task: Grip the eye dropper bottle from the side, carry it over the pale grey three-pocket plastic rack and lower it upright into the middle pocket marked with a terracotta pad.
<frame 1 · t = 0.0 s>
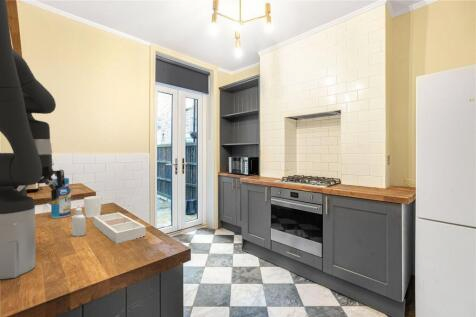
hand: (39, 200, 76), 17 cm above the counter, tool pointing down, fingers open, 8 cm apart
white cup: (93, 216, 120), on the counter
rack: (117, 230, 98), on the counter
beverage bottle: (61, 216, 119), on the counter
eye dropper bottle: (78, 235, 92), on the counter
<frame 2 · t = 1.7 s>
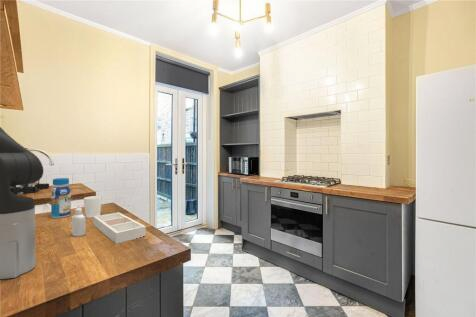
hand: (42, 187, 88), 20 cm above the counter, tool horizontal, fingers open, 8 cm apart
nothing on the counter moved.
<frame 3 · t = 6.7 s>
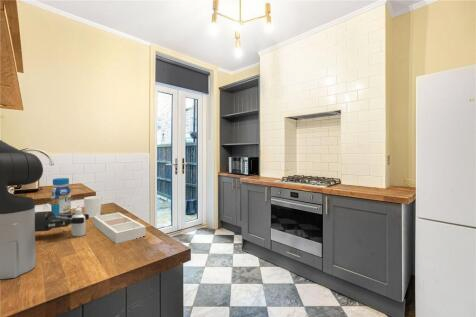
hand: (86, 218, 93), 7 cm above the counter, tool horizontal, fingers closed on eye dropper bottle, 4 cm apart
eye dropper bottle: (78, 235, 92), on the counter, touching gripper
everything else where it was.
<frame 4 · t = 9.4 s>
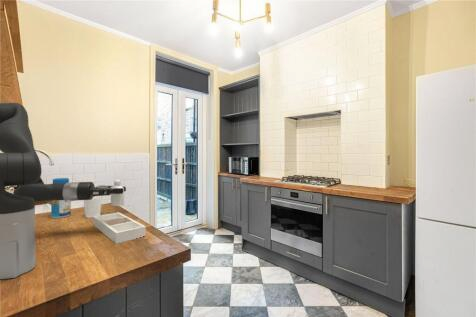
hand: (124, 189, 98), 17 cm above the counter, tool horizontal, fingers closed on eye dropper bottle, 4 cm apart
eye dropper bottle: (117, 205, 98), point 11 cm above the counter, touching gripper
everything else where it was.
when the fingers open (9 cm above the counter, at t = 12.1 s): eye dropper bottle stays where it is, resting on rack.
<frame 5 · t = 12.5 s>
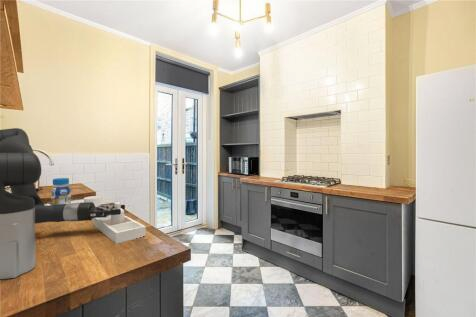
hand: (122, 209, 98), 9 cm above the counter, tool horizontal, fingers open, 8 cm apart
eye dropper bottle: (117, 228, 97), point 1 cm above the counter, touching rack
everything else where it was.
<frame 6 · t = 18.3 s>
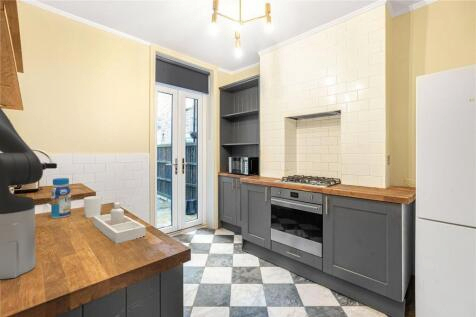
hand: (51, 166, 91), 28 cm above the counter, tool horizontal, fingers open, 8 cm apart
nothing on the counter moved.
at the end: eye dropper bottle 0.3 cm off-centre on the rack, point 1.0 cm above the rack's base; eye dropper bottle tilted 0°; the gripper is holding nothing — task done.
